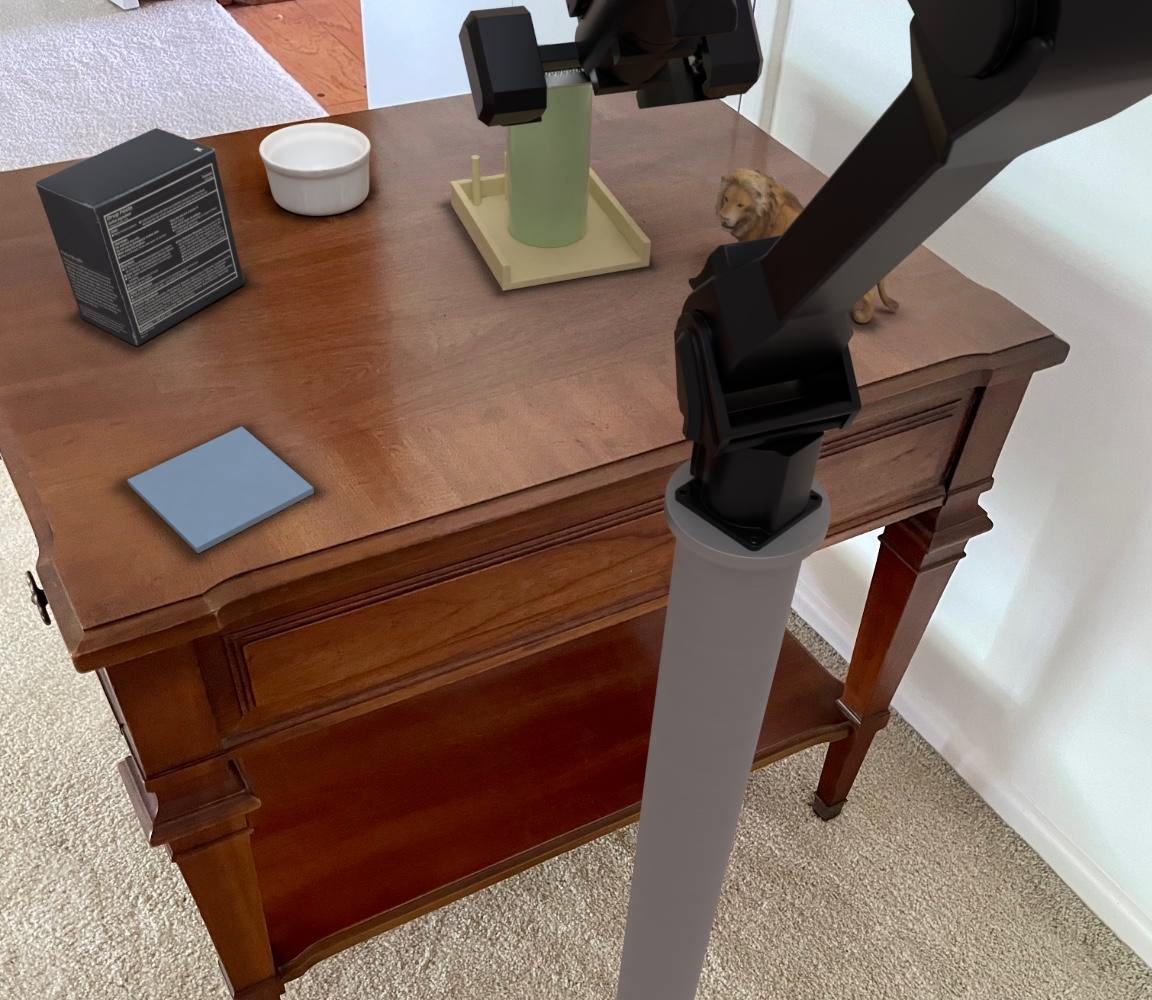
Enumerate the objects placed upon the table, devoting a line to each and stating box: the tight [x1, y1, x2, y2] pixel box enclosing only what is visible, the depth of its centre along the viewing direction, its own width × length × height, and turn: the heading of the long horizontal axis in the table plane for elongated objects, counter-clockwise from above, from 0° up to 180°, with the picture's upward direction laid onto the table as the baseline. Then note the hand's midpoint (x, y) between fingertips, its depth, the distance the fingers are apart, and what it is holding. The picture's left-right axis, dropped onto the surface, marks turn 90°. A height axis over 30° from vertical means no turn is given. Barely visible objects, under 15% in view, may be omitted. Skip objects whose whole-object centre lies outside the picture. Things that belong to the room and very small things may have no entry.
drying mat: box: [126, 426, 315, 554], centre depth 69 cm, size 8×8×1 cm
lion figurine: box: [714, 167, 900, 324], centre depth 83 cm, size 15×5×9 cm, turn 73°
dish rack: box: [449, 150, 652, 291], centre depth 90 cm, size 14×12×5 cm
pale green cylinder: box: [505, 43, 594, 248], centre depth 86 cm, size 6×6×13 cm
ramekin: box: [258, 122, 371, 217], centre depth 93 cm, size 9×9×4 cm
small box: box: [34, 127, 245, 347], centre depth 79 cm, size 11×6×10 cm, turn 146°
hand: (578, 109), depth 78 cm, fingers open, 9 cm apart
